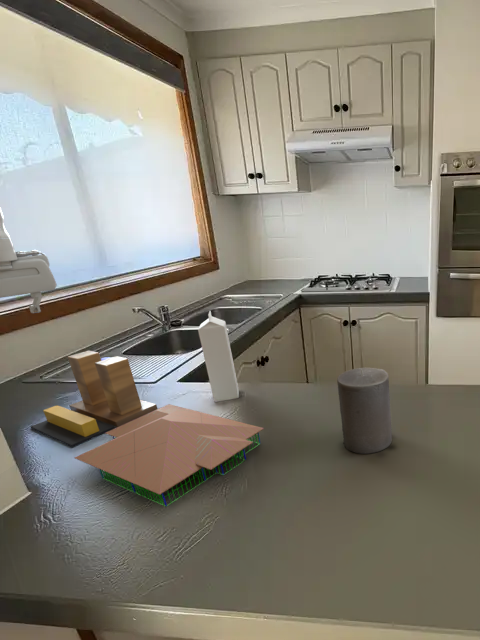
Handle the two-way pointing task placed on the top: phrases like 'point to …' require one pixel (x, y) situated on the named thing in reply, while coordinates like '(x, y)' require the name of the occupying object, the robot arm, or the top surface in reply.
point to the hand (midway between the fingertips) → (11, 317)
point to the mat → (69, 432)
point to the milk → (218, 359)
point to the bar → (71, 420)
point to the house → (169, 449)
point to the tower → (107, 389)
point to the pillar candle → (365, 409)
